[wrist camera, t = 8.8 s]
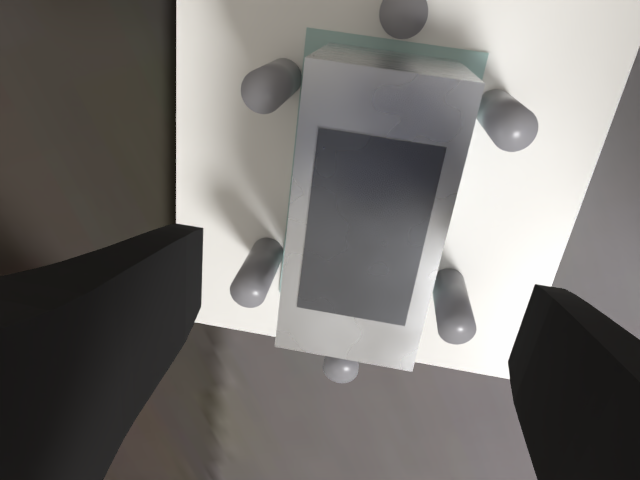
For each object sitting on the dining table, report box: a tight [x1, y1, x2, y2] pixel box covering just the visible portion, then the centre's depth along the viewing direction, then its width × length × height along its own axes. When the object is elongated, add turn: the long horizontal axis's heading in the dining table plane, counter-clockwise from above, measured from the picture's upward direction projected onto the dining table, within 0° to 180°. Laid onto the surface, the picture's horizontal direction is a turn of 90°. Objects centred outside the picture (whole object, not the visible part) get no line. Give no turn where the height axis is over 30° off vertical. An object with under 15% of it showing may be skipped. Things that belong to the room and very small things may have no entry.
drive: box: [275, 42, 485, 372], centre depth 15 cm, size 4×8×5 cm, turn 173°
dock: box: [176, 0, 640, 383], centre depth 17 cm, size 14×14×4 cm
